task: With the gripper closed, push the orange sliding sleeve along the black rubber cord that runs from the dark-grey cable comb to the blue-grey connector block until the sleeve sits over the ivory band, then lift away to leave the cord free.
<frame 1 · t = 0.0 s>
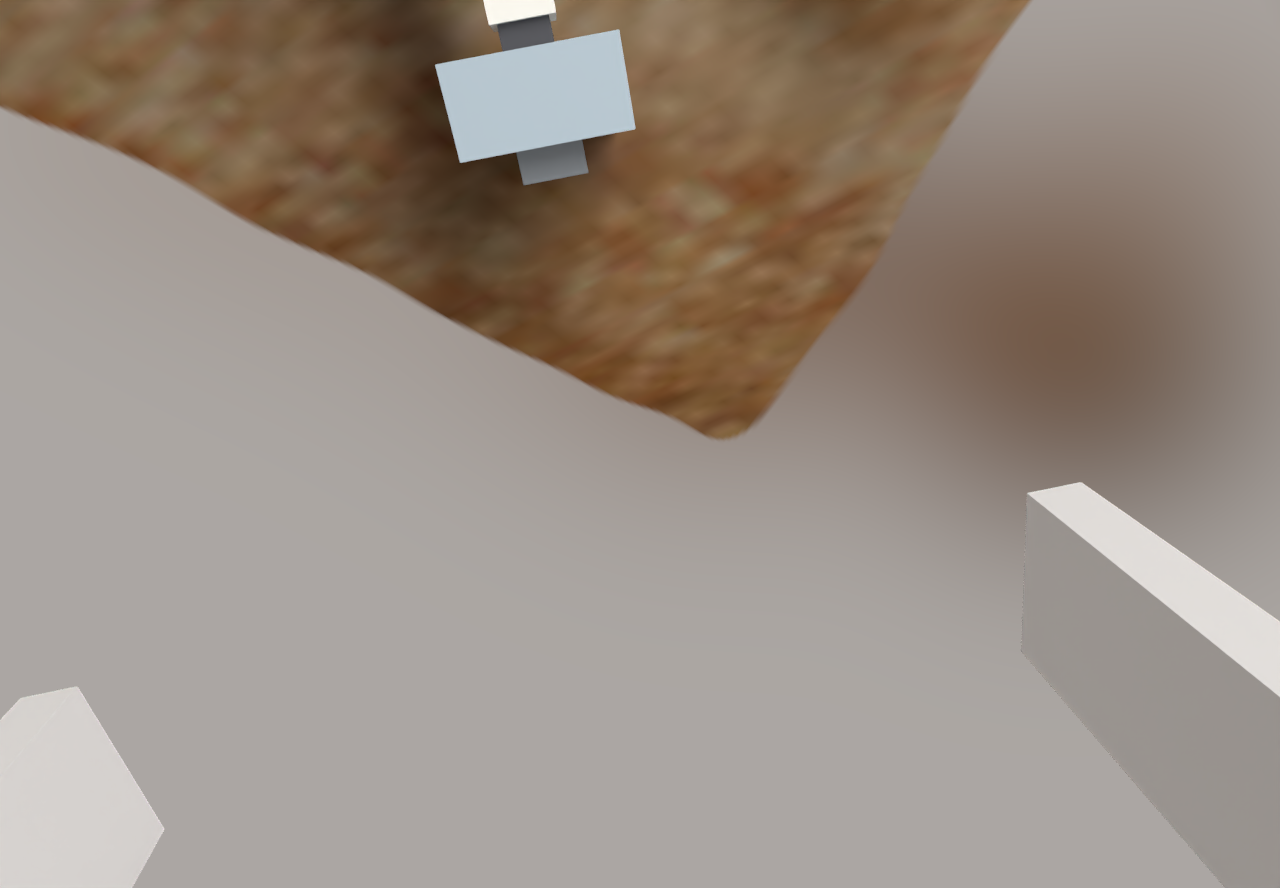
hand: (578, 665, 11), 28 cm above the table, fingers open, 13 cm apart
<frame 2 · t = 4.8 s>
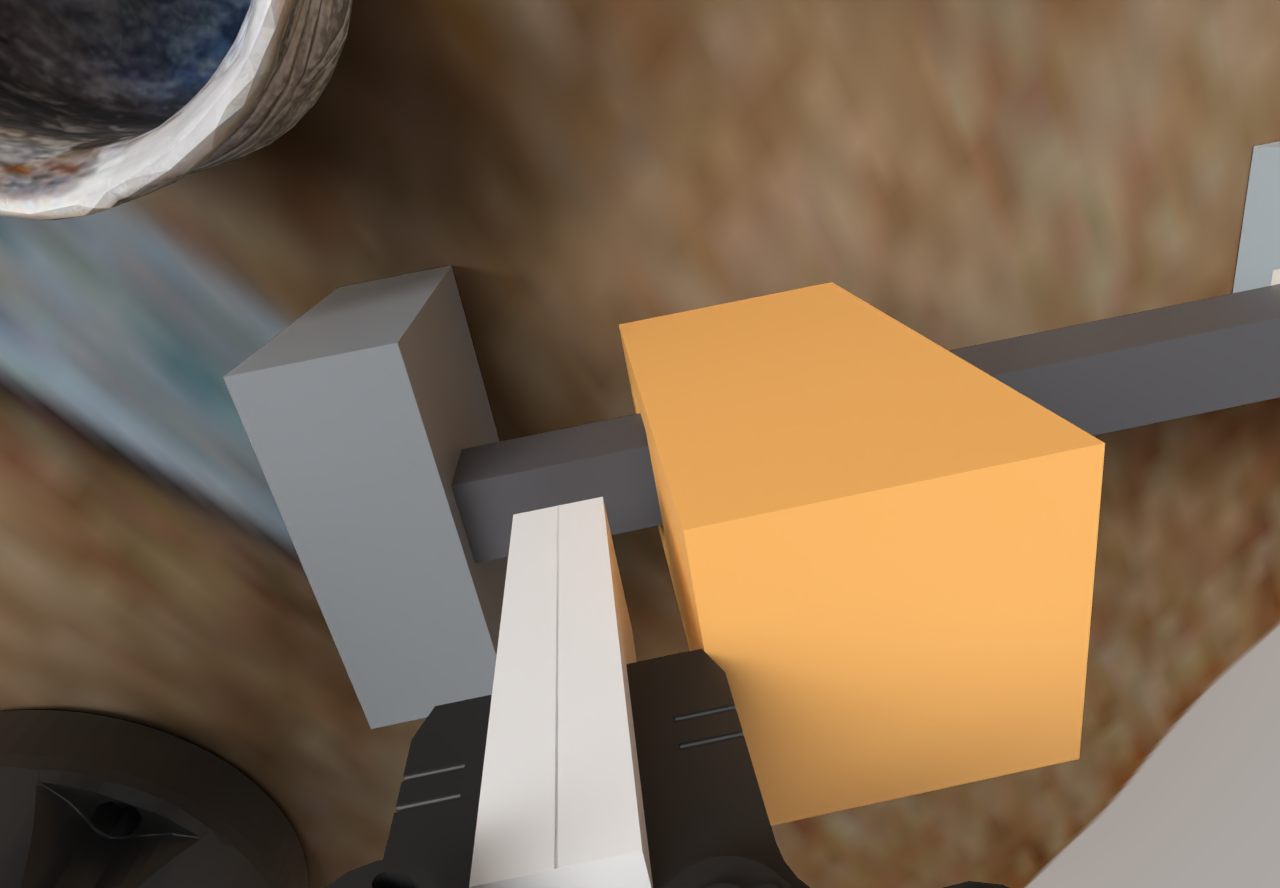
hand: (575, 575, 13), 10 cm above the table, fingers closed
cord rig: (868, 330, 22), on the table
orange sliding sleeve: (795, 491, 14), point 8 cm above the table, slide at 0.9 cm, touching gripper
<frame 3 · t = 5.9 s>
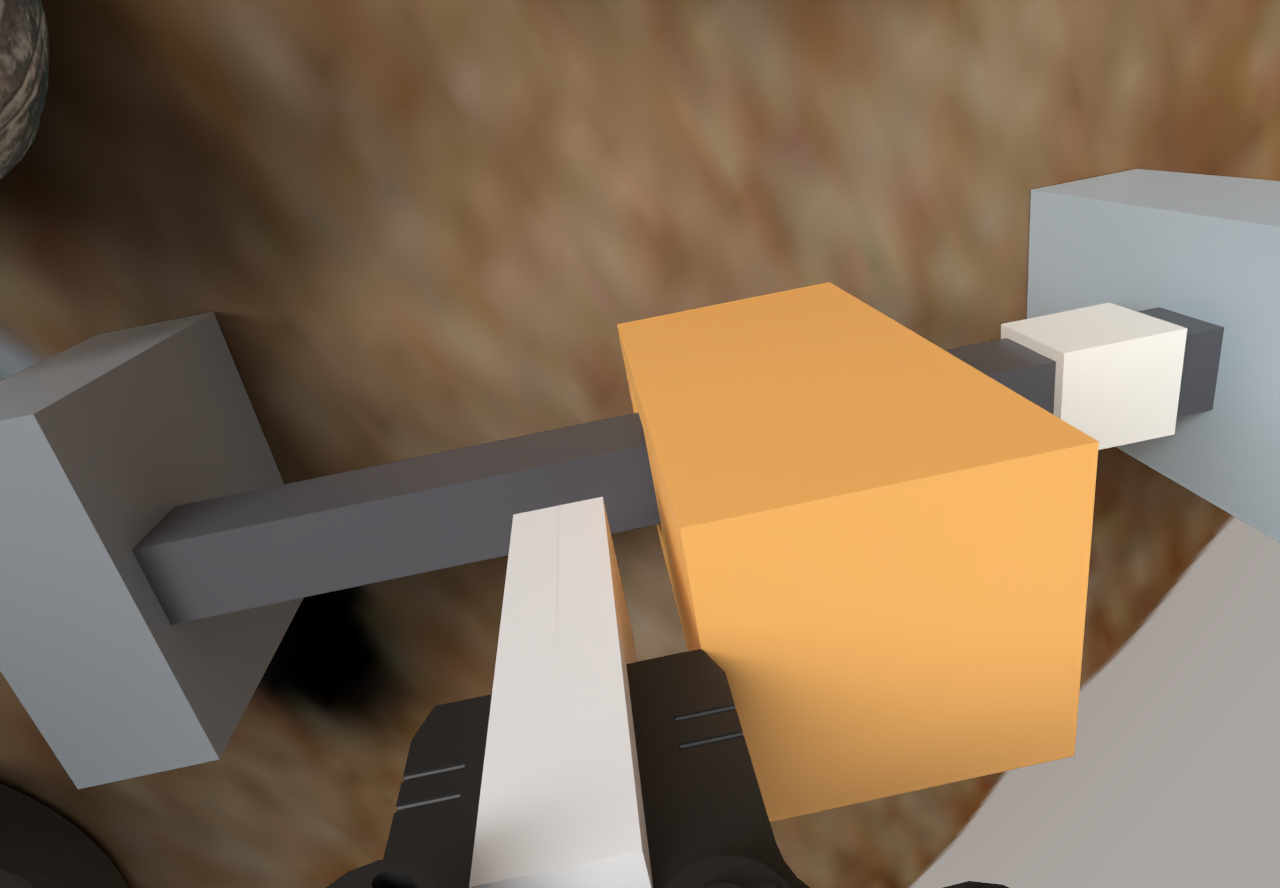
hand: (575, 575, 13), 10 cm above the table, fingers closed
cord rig: (653, 372, 22), on the table
orange sliding sleeve: (792, 490, 14), point 8 cm above the table, slide at 7.1 cm, touching gripper
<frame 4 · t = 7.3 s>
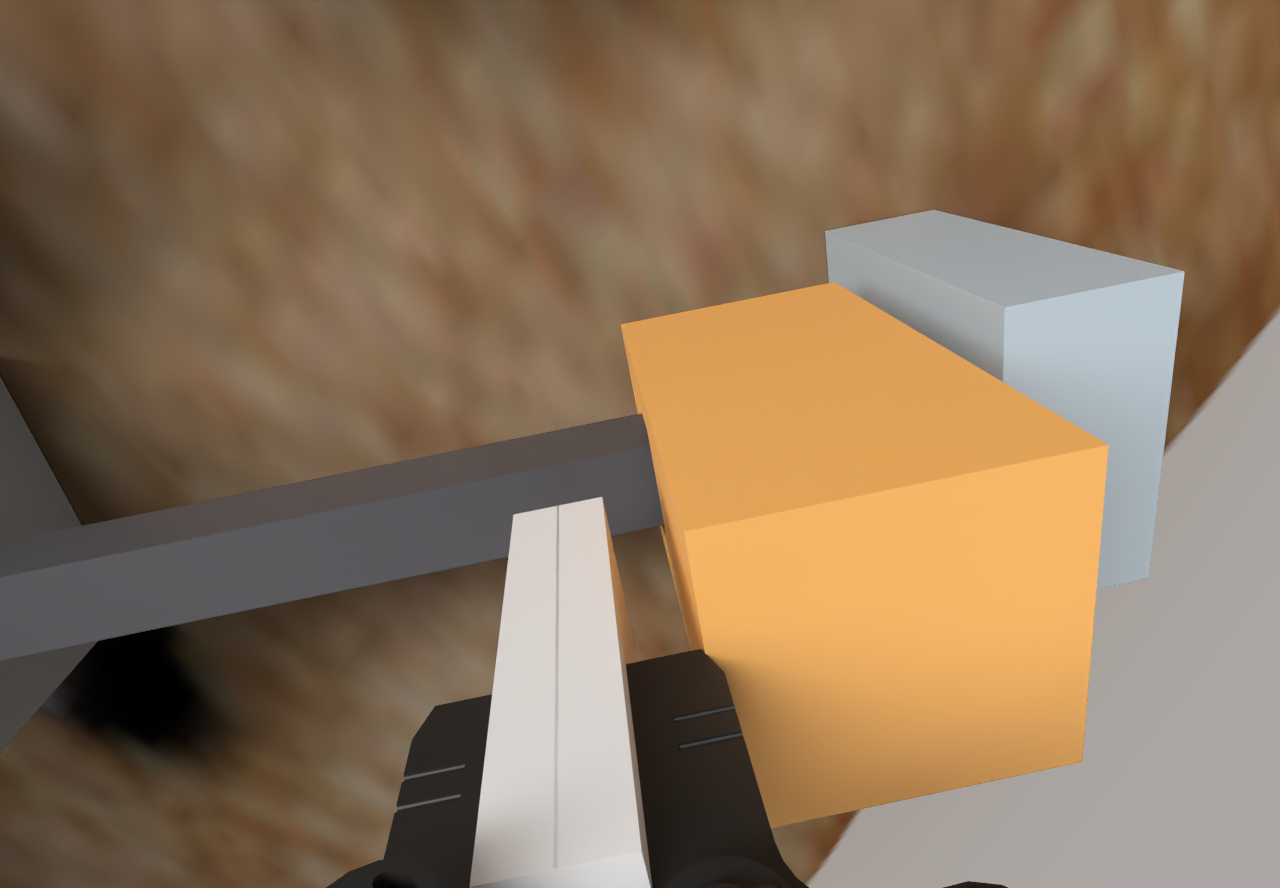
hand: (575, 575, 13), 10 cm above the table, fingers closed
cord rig: (452, 413, 21), on the table
orange sliding sleeve: (797, 492, 14), point 8 cm above the table, slide at 13.0 cm, touching gripper
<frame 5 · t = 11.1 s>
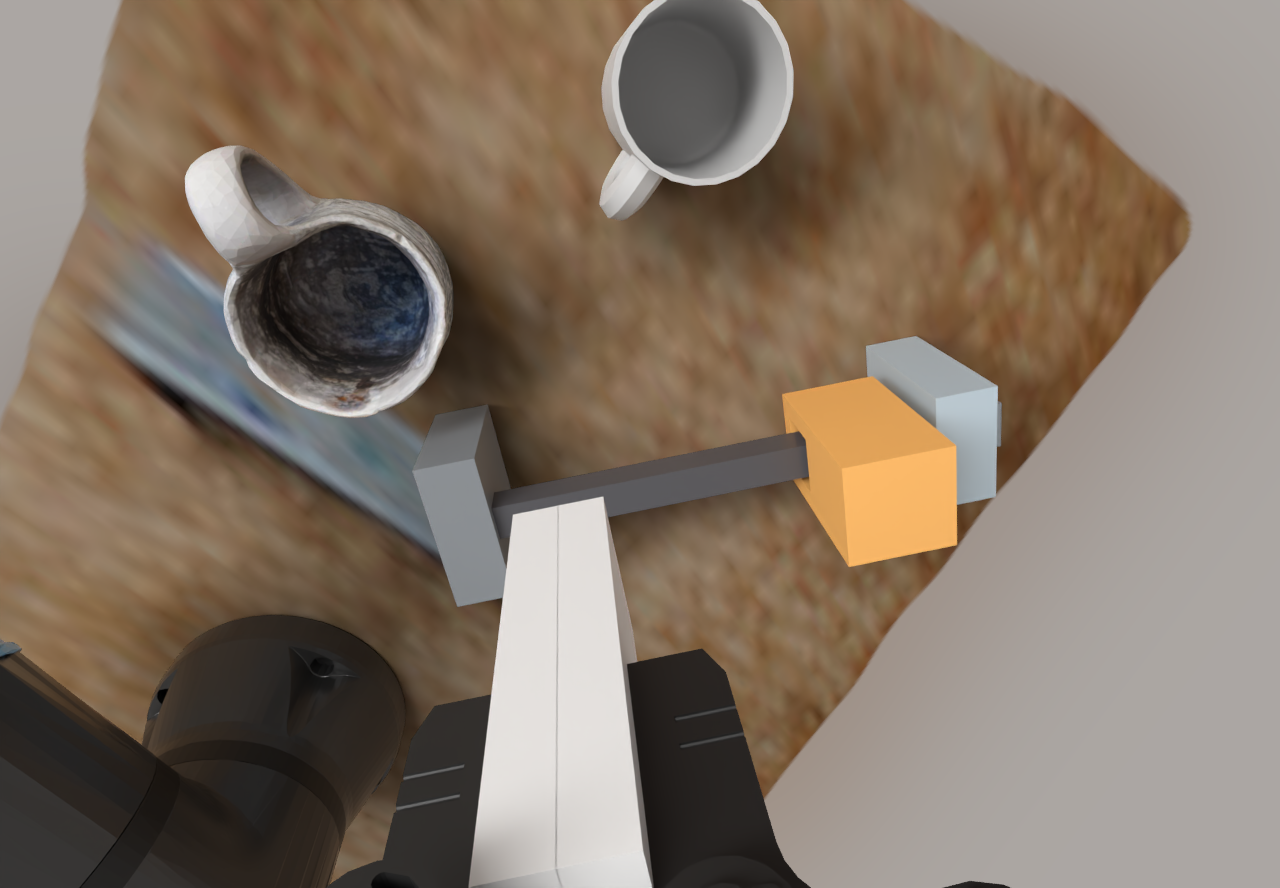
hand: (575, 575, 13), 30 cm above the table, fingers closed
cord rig: (687, 430, 45), on the table
cup: (656, 120, 39), on the table
orange sliding sleeve: (862, 463, 38), point 8 cm above the table, slide at 13.0 cm
mug: (350, 263, 40), on the table
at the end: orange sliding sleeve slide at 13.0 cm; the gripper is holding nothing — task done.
